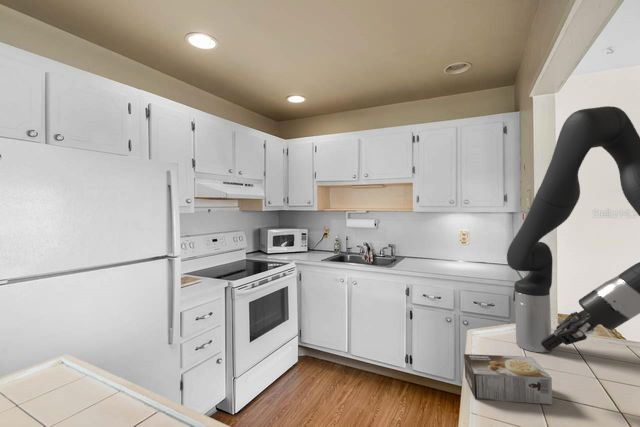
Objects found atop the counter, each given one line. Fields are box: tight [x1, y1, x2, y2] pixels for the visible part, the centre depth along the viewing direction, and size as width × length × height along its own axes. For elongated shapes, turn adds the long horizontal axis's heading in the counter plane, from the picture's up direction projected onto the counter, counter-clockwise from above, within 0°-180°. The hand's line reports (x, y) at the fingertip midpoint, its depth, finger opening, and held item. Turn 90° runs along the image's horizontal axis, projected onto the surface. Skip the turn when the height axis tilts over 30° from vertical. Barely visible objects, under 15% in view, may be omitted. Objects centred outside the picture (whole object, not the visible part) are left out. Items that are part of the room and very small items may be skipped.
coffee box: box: [463, 353, 553, 405], centre depth 73 cm, size 9×6×16 cm
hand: (544, 346), depth 72 cm, fingers closed
